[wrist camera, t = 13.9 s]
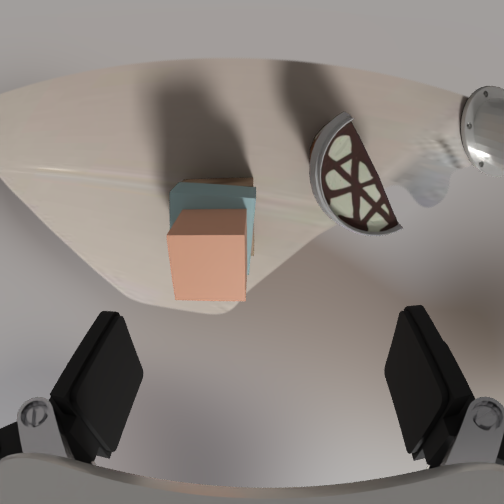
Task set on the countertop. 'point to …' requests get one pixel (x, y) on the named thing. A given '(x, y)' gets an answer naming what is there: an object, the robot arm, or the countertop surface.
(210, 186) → the tower top block
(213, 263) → the terracotta cube
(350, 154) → the food container
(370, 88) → the countertop surface
